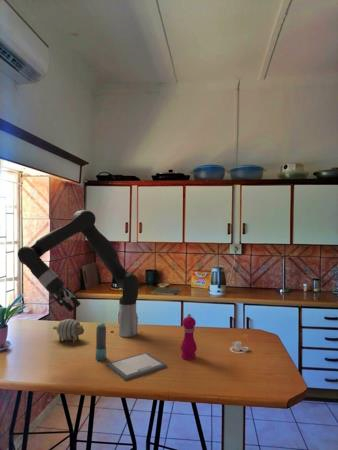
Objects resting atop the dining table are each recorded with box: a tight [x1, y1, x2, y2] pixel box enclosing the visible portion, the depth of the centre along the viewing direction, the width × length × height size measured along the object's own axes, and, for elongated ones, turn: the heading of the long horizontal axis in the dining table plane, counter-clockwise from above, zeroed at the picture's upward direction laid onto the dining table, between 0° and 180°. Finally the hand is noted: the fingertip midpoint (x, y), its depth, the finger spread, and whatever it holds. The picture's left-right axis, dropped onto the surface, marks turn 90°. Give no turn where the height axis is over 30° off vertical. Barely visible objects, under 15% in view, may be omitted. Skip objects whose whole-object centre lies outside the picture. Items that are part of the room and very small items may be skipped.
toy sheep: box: [52, 318, 85, 344], centre depth 165 cm, size 11×17×11 cm, turn 84°
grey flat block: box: [106, 351, 168, 382], centre depth 136 cm, size 20×16×2 cm
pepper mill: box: [180, 313, 198, 361], centre depth 146 cm, size 7×7×20 cm
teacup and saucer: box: [229, 340, 250, 354], centre depth 155 cm, size 9×8×4 cm
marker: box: [95, 322, 107, 362], centre depth 143 cm, size 5×5×16 cm
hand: (75, 308), depth 144 cm, fingers open, 8 cm apart
